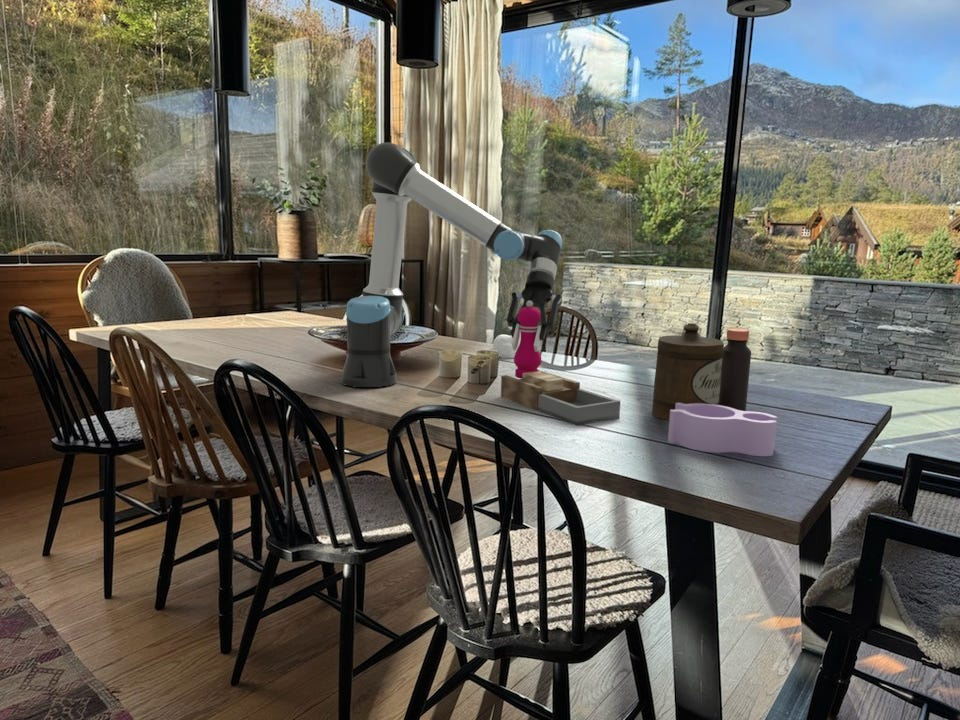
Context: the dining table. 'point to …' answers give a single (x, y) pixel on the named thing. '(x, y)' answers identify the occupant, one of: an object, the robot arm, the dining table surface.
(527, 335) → the pepper mill
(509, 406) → the dining table surface
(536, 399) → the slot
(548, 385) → the chip
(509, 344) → the rabbit
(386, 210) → the robot arm
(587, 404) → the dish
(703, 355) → the wooden container
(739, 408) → the bottle
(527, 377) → the chip
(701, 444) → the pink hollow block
